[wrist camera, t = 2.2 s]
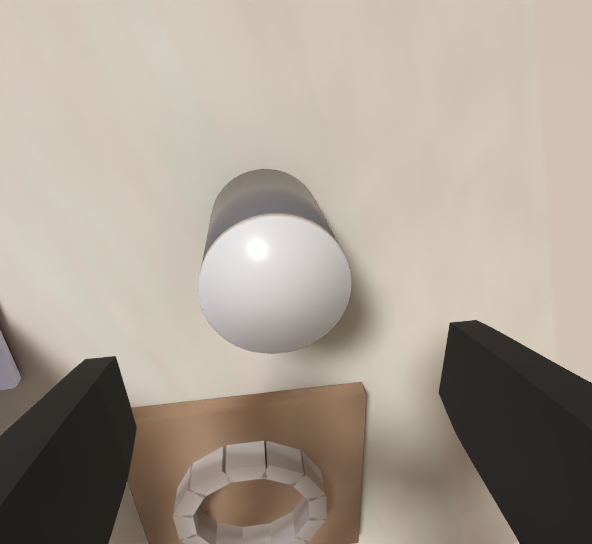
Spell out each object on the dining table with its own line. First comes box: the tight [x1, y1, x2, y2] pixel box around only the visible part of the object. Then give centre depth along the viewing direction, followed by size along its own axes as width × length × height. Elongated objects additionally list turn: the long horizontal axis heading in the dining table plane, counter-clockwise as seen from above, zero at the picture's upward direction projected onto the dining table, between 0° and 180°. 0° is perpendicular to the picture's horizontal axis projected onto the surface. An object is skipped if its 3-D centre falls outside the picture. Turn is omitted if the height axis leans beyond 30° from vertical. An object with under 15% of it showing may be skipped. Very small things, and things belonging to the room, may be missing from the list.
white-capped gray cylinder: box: [198, 169, 352, 354], centre depth 15 cm, size 5×5×6 cm
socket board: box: [127, 382, 366, 544], centre depth 24 cm, size 13×13×2 cm
